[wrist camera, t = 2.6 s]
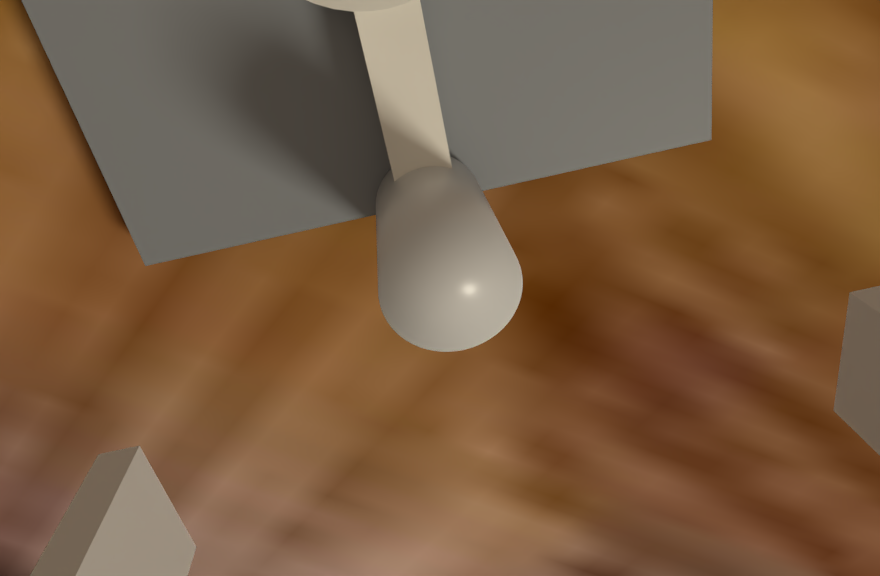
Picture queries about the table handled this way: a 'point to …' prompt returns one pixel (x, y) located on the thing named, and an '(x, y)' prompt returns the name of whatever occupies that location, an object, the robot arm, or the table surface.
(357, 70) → the lock base
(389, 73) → the locking lever
